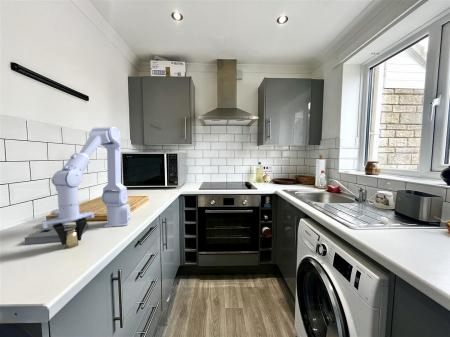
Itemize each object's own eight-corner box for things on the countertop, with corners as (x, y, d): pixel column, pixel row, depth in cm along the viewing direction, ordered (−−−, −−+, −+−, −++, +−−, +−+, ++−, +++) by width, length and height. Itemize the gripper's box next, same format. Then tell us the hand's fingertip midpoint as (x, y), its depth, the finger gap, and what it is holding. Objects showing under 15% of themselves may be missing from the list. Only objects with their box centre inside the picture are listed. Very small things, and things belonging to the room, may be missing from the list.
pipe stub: (80, 242, 76) (79, 226, 75) (75, 247, 72) (74, 231, 71) (68, 244, 75) (67, 227, 74) (62, 249, 71) (60, 232, 70)
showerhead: (43, 211, 91) (63, 205, 101) (44, 227, 92) (64, 219, 102) (62, 211, 90) (81, 205, 100) (64, 227, 91) (81, 220, 101)
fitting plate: (88, 228, 90) (88, 222, 89) (75, 240, 78) (74, 233, 78) (45, 232, 86) (45, 225, 86) (24, 244, 74) (24, 237, 74)
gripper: (88, 198, 80) (90, 232, 81) (39, 206, 69) (42, 245, 70) (95, 201, 76) (97, 237, 77) (43, 210, 65) (46, 252, 66)
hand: (71, 241), depth 73 cm, fingers closed on pipe stub, 4 cm apart
